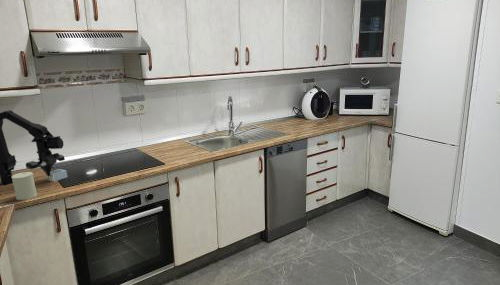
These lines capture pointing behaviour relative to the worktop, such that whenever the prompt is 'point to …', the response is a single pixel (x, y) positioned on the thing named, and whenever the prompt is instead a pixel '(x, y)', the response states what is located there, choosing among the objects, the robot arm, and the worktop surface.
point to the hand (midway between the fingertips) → (48, 176)
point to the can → (24, 185)
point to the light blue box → (57, 175)
